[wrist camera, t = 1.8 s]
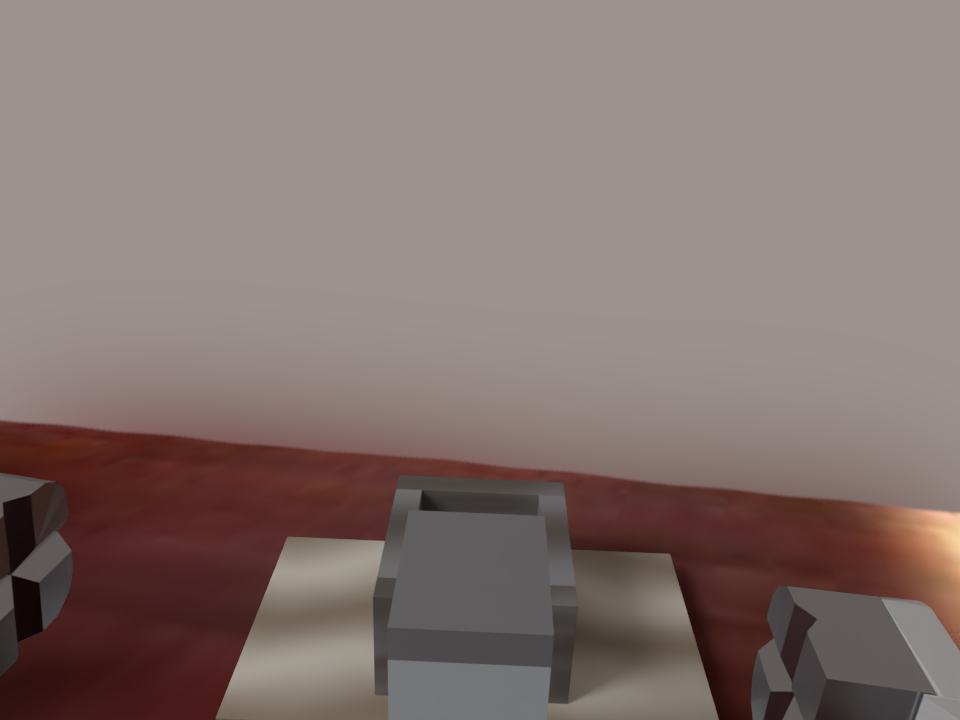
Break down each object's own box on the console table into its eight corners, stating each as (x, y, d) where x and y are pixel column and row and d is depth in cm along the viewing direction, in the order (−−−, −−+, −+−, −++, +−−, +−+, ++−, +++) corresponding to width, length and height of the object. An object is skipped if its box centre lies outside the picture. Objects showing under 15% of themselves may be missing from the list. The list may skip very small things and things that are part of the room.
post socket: (719, 769, 33) (746, 642, 31) (219, 745, 34) (203, 617, 31) (666, 577, 44) (682, 471, 42) (289, 560, 45) (282, 453, 42)
